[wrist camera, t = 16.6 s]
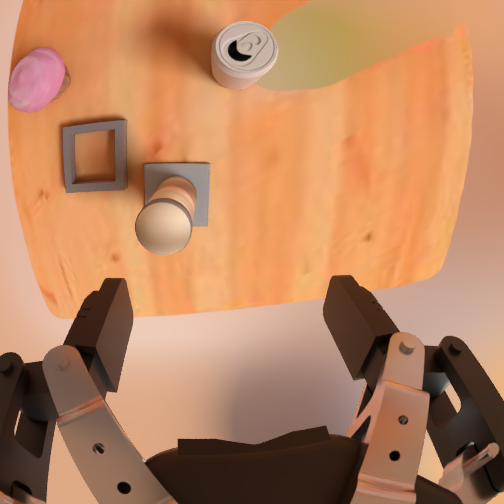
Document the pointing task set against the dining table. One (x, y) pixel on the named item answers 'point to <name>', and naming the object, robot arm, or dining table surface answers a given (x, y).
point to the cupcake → (37, 80)
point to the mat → (191, 171)
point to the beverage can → (242, 54)
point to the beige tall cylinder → (167, 217)
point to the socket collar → (120, 157)
